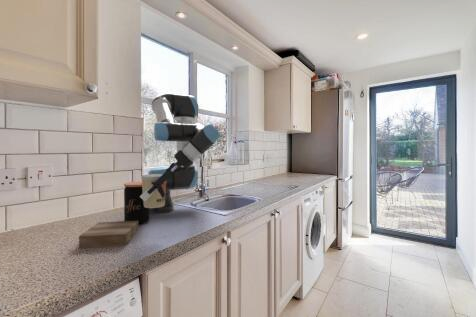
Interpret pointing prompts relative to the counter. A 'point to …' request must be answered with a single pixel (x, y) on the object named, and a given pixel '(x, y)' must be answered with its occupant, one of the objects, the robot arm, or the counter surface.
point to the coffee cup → (158, 196)
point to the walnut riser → (109, 234)
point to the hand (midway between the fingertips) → (145, 196)
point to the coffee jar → (135, 203)
